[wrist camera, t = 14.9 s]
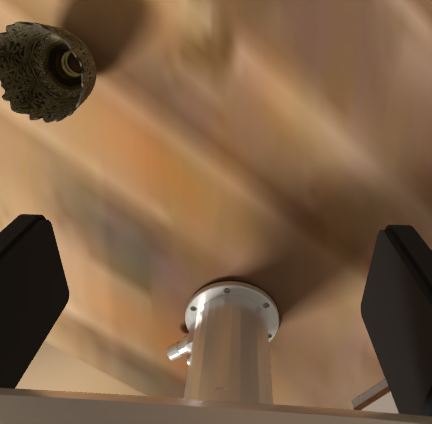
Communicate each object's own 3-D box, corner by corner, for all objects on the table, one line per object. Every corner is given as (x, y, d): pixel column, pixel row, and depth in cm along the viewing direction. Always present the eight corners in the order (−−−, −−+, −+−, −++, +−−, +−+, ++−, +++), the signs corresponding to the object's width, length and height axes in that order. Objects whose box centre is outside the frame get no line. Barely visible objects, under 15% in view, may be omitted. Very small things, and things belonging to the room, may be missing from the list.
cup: (25, 28, 34) (-31, 32, 27) (99, 11, 33) (60, 12, 26) (56, 107, 38) (13, 129, 31) (123, 95, 36) (95, 115, 29)
